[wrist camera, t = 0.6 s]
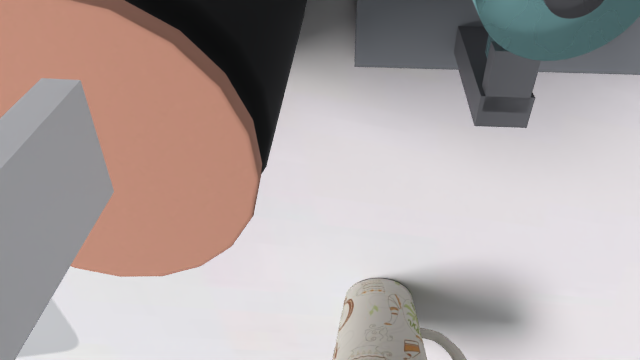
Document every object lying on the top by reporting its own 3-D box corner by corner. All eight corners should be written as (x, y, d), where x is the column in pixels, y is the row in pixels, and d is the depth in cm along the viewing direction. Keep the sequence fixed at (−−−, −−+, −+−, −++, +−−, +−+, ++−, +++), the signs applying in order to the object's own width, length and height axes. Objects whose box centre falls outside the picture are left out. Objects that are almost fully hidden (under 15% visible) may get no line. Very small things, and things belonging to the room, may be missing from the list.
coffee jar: (315, -125, 27) (257, 10, 13) (306, 67, 33) (262, 292, 19) (107, -141, 27) (-175, -27, 13) (140, 52, 34) (-22, 265, 20)
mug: (349, 258, 44) (345, 365, 37) (486, 294, 46) (510, 404, 38) (321, 315, 49) (312, 419, 42) (444, 345, 51) (458, 451, 43)
